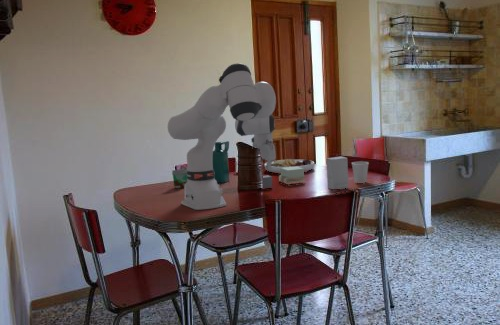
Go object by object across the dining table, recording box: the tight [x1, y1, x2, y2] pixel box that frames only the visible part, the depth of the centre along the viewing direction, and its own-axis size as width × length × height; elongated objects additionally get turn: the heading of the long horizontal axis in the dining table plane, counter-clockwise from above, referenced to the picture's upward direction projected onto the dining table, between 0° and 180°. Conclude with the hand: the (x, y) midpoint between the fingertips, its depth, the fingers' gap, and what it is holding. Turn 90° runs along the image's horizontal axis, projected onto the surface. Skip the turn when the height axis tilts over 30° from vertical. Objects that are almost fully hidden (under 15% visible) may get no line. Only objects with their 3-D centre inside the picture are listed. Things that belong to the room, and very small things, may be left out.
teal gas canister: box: [212, 140, 230, 184], centre depth 239 cm, size 10×8×22 cm
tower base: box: [278, 174, 306, 184], centre depth 227 cm, size 10×10×4 cm
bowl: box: [263, 158, 315, 173], centre depth 265 cm, size 30×30×8 cm
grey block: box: [262, 174, 273, 188], centre depth 216 cm, size 5×5×6 cm
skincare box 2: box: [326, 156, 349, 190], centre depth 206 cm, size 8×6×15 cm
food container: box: [171, 166, 188, 190], centre depth 229 cm, size 12×6×10 cm, turn 168°
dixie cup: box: [351, 161, 370, 183], centre depth 218 cm, size 8×8×10 cm
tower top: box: [280, 166, 305, 178], centre depth 226 cm, size 9×9×4 cm
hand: (264, 167), depth 215 cm, fingers open, 8 cm apart
